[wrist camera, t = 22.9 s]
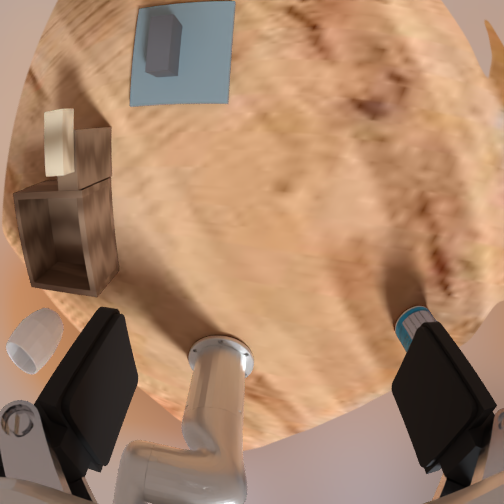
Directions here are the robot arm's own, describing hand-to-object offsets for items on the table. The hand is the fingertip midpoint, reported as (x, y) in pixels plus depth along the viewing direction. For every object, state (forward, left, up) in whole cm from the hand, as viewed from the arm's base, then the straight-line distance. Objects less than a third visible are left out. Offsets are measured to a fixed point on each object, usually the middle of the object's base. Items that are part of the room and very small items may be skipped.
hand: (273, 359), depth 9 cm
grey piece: (+18, +12, -36) cm, 42 cm away
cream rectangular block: (+6, +25, -26) cm, 36 cm away
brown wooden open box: (-5, +30, -36) cm, 47 cm away
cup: (-22, +33, -36) cm, 54 cm away
